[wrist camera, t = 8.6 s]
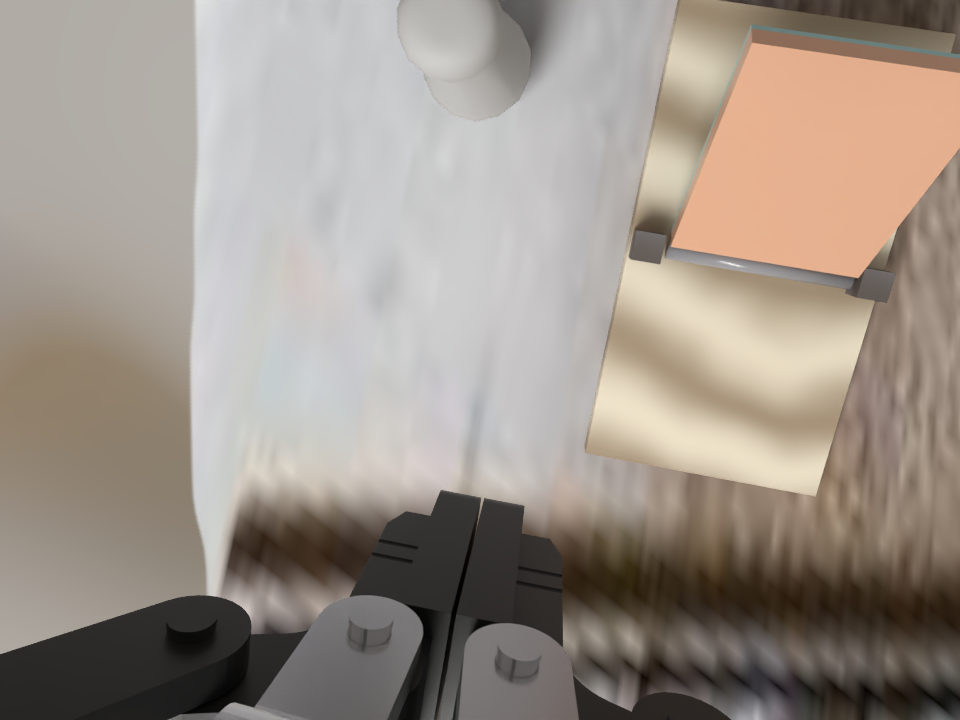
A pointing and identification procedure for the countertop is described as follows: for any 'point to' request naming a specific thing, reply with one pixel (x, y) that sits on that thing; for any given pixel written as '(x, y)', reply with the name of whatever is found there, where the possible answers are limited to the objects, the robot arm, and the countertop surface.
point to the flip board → (727, 296)
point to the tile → (817, 155)
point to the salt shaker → (466, 54)
